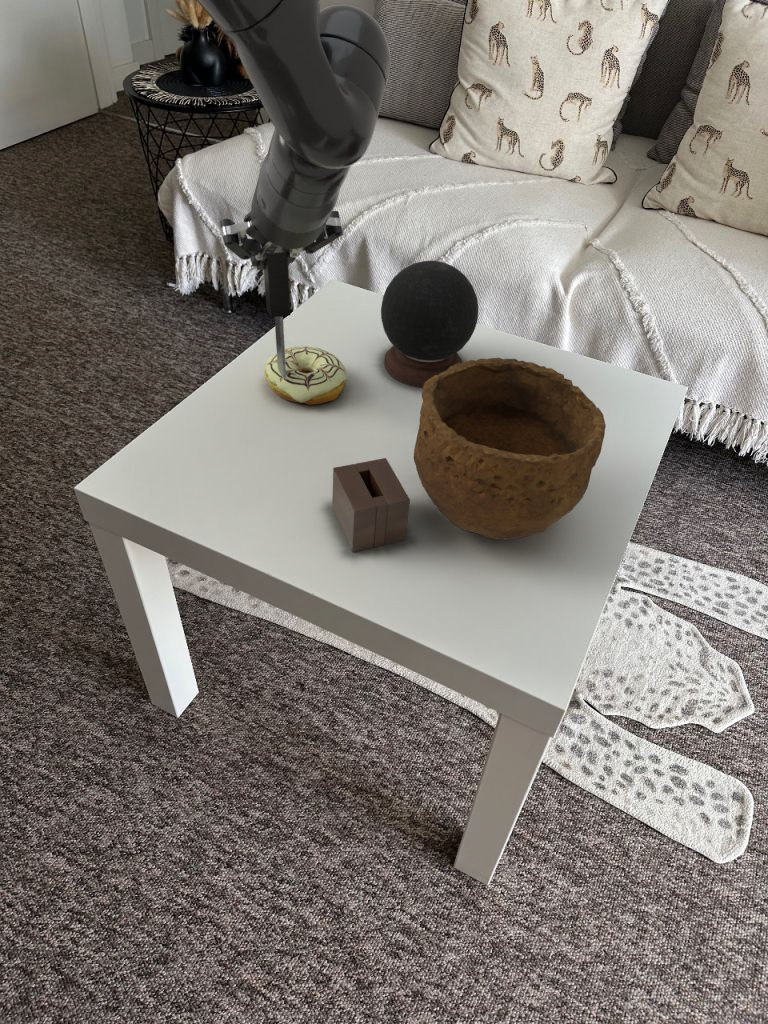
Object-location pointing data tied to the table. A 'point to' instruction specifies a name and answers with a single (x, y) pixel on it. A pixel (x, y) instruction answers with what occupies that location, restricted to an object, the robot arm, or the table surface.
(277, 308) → the knife
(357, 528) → the knife block
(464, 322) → the black ball on stand
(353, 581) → the table surface
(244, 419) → the table surface
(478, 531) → the bowl
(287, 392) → the decorated donut
